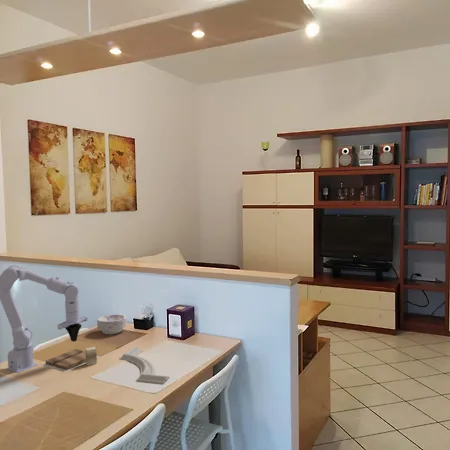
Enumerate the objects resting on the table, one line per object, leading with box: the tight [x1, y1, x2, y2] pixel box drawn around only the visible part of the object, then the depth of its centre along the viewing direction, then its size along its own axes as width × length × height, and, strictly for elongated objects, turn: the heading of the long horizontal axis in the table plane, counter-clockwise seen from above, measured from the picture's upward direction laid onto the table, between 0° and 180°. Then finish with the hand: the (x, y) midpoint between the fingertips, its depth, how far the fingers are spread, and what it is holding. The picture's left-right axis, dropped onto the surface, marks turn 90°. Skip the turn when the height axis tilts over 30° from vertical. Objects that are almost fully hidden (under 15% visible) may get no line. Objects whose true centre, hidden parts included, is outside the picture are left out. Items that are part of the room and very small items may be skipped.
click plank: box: [55, 351, 98, 370], centre depth 188 cm, size 16×8×1 cm, turn 149°
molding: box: [118, 346, 171, 385], centre depth 182 cm, size 42×12×3 cm, turn 29°
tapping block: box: [84, 346, 98, 366], centre depth 186 cm, size 7×4×3 cm
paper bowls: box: [96, 314, 127, 335], centre depth 231 cm, size 15×15×8 cm
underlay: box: [42, 355, 100, 373], centre depth 190 cm, size 19×16×1 cm
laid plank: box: [45, 348, 84, 366], centre depth 192 cm, size 16×5×2 cm, turn 149°
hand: (73, 340), depth 190 cm, fingers closed
